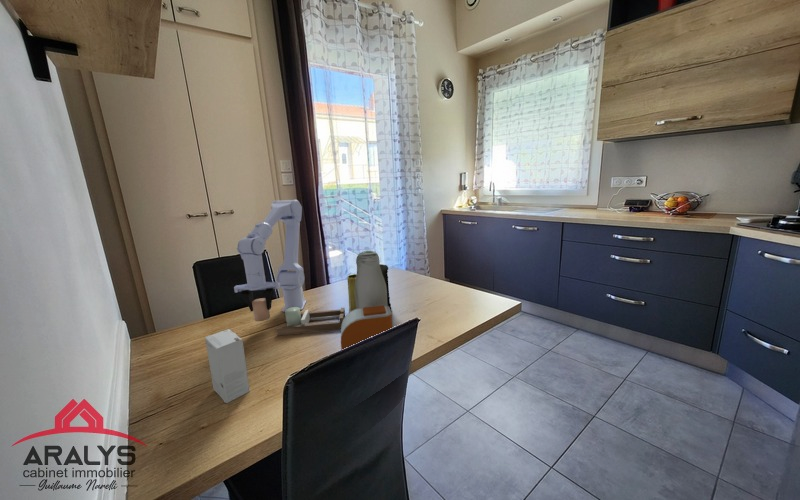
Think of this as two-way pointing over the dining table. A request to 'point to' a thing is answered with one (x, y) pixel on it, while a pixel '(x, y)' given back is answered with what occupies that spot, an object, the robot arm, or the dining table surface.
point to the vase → (351, 292)
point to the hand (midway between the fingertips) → (261, 309)
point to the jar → (260, 309)
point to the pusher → (307, 318)
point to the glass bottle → (369, 281)
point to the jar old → (293, 316)
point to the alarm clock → (364, 324)
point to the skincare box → (227, 365)
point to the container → (386, 281)
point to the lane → (316, 326)
